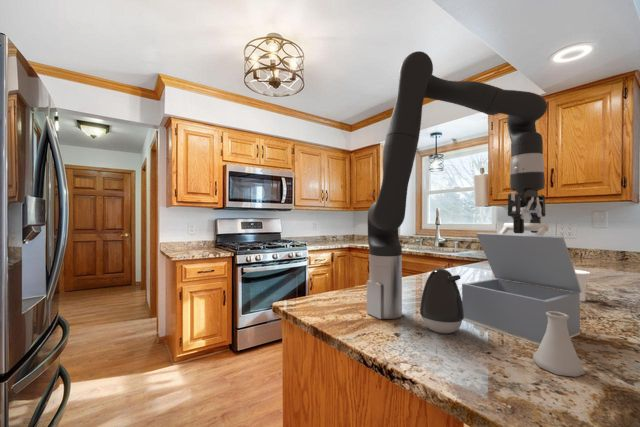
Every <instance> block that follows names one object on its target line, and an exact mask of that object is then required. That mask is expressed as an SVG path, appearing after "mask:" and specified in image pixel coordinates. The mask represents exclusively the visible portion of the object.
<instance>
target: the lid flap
mask: <svg viewBox="0 0 640 427" xmlns="http://www.w3.org/2000/svg"><path fill="white" fill-rule="evenodd" d="M549 229H550V225H549V223H545V222H544V223H543V222H542V223H530V222H527V223H526V222H524V232H531V231H538V232H537V233H534V234H523V233H507V232H508V231H514V226H513V222H504V223H503V227H501V229H500V230H499V232H498V233H495V232H477V233H476V236H477V239H478V241H479V243H480V245H481V248H482V250H483V253H484V255H485V257H486V259H487V262H488V264H489V266H490V269H491V271H492V273H493V274H492V275H493V276H494V279H495V278H496V279H502V280H508V281H514V282H519V283H525V284H531V285H537V286H542V287H548V288H554V289H559V290H567V291H572V292H578V293H581V292H582V291H581V288H580V285H579V282H578V279H577V276H576V273H575V270H576V269H575V267H574V264H573V262H572V261H573V260H572V259H571V255H570V252H569V250H568V246H567V244H566V241H565V237H564V236H563V235H545V233H546V232H548V231H549Z"/></svg>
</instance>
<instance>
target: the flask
mask: <svg viewBox="0 0 640 427" xmlns="http://www.w3.org/2000/svg"><path fill="white" fill-rule="evenodd" d="M546 315H547V316H548V324H547V329H546V333H545V335H544V337H543V339H542V341H541V344H540V345H538V348H537V350H536V352H535V353H534V355H533V358H532V361H533V362H534V363H535V364H536V365H537V366H538V367H539V368H541V369H543V370H545V371H548V372H550V373H552V374H555V375H558V376H566V377H567V376H568V377H579V376H583V375H584V374H586V372H585V369H584V367H583V364H582V363H581V360H580V358H579V355H578V353H577V351H576V349H575V346H574V344H573V342H572V340H571V338H570V337H569V332H568V328H567V319H569V316H568V315H566V314H564V313H560V312H553V311H549V312H546Z"/></svg>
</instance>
